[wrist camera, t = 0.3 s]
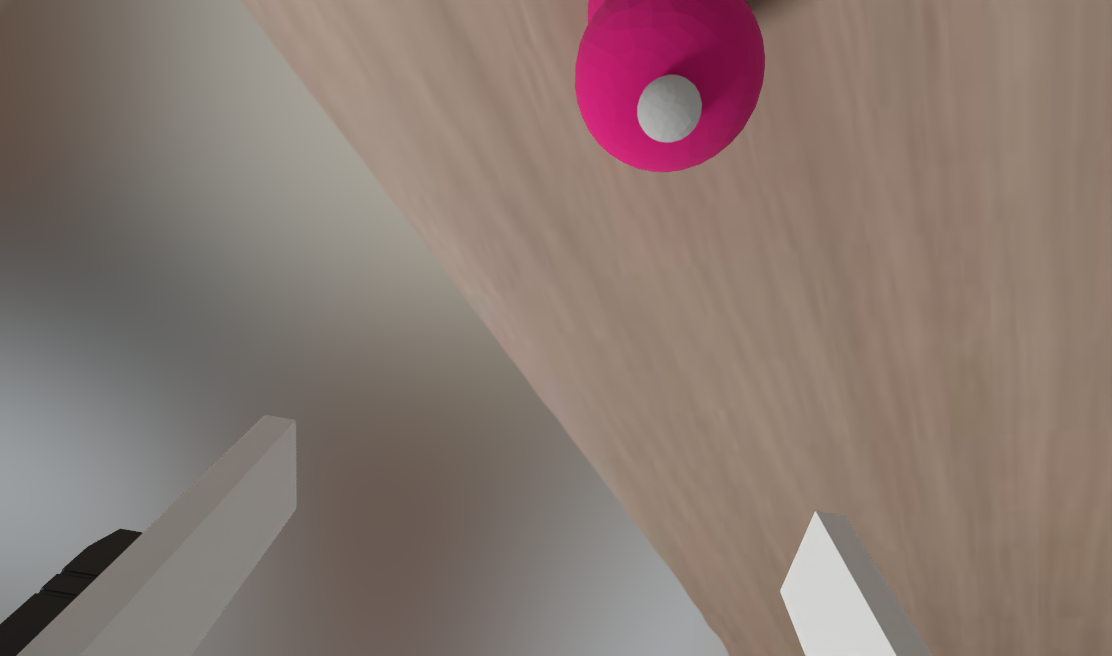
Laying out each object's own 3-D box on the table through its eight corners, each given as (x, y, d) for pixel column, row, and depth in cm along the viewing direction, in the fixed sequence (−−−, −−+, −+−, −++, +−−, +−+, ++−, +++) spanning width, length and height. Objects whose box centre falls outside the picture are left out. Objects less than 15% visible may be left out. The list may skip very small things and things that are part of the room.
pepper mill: (599, -89, 28) (536, -48, 13) (743, -84, 28) (859, -35, 12) (590, 64, 33) (536, 228, 18) (714, 71, 32) (772, 248, 17)
